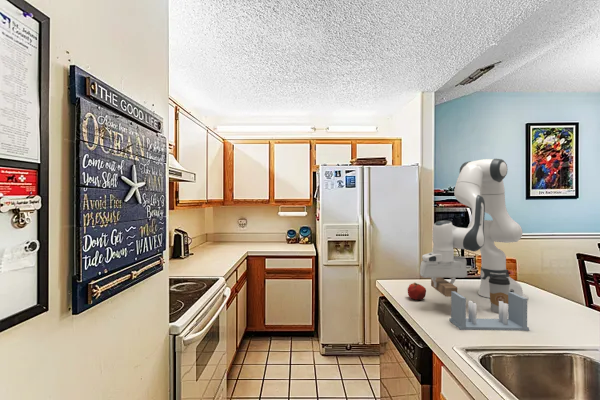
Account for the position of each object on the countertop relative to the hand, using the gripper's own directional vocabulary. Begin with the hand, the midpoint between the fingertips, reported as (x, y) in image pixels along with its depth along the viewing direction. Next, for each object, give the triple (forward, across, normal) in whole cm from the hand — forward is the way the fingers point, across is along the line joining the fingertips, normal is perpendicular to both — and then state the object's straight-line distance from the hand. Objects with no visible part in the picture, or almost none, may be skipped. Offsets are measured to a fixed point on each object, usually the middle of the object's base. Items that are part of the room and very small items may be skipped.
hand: (443, 287), depth 159 cm
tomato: (+10, +8, -16) cm, 20 cm away
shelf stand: (+10, -10, +20) cm, 25 cm away
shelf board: (+2, 0, 0) cm, 2 cm away
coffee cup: (+10, -24, +2) cm, 26 cm away
